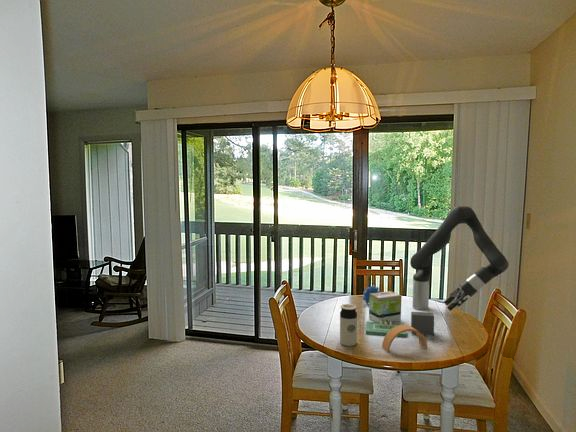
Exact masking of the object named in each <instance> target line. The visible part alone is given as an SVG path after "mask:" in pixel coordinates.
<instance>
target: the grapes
mask: <svg viewBox="0 0 576 432" xmlns="http://www.w3.org/2000/svg"><path fill="white" fill-rule="evenodd" d="M379 289H380V288H379V287H378V286H376V285H374V284H372V285H371V286H367V287H366V290H364V291H363V293H362V294H363V297H362V300H363V301H364V302H365V304H368V305H369V297H370V294H372V293H380V292H381V291H379Z"/></svg>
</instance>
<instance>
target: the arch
mask: <svg viewBox="0 0 576 432" xmlns="http://www.w3.org/2000/svg"><path fill="white" fill-rule="evenodd" d="M405 331H406V332H411V331H413V332H415V333H416V334H415V335H417V339H418V344H419V345H420V346H422V347H423V348H425V349H427V348H428V341H427V340H426V337H425V335H422V334H421V333H420V332H419V331H417V330H416V329H414V328H413V327H411V325H409V324H405V325H398V326H396V327H394V328H392V329H391V330H390V331H389V332H388V333H387V334H386V335H384V337H383V340H382V344H381V345H382V346H381V348H383V350H385V352H387V353H390V351H391V345H392V343H393V341H394V340H395V339H396V338H397V337H399V336H398V335H399V334H400V333H402V332H405Z"/></svg>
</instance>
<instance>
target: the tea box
mask: <svg viewBox="0 0 576 432" xmlns="http://www.w3.org/2000/svg"><path fill="white" fill-rule="evenodd" d="M379 292H380V293H372V294H370V297H369V303H368V319H369V320H370V321H371V322H380V321H382V323H385V322H387V323H390V322H392V323H393V322H400V321H401V318H402V295H401V294H399V293H396V292H394V291H392V290H389V291H379Z"/></svg>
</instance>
